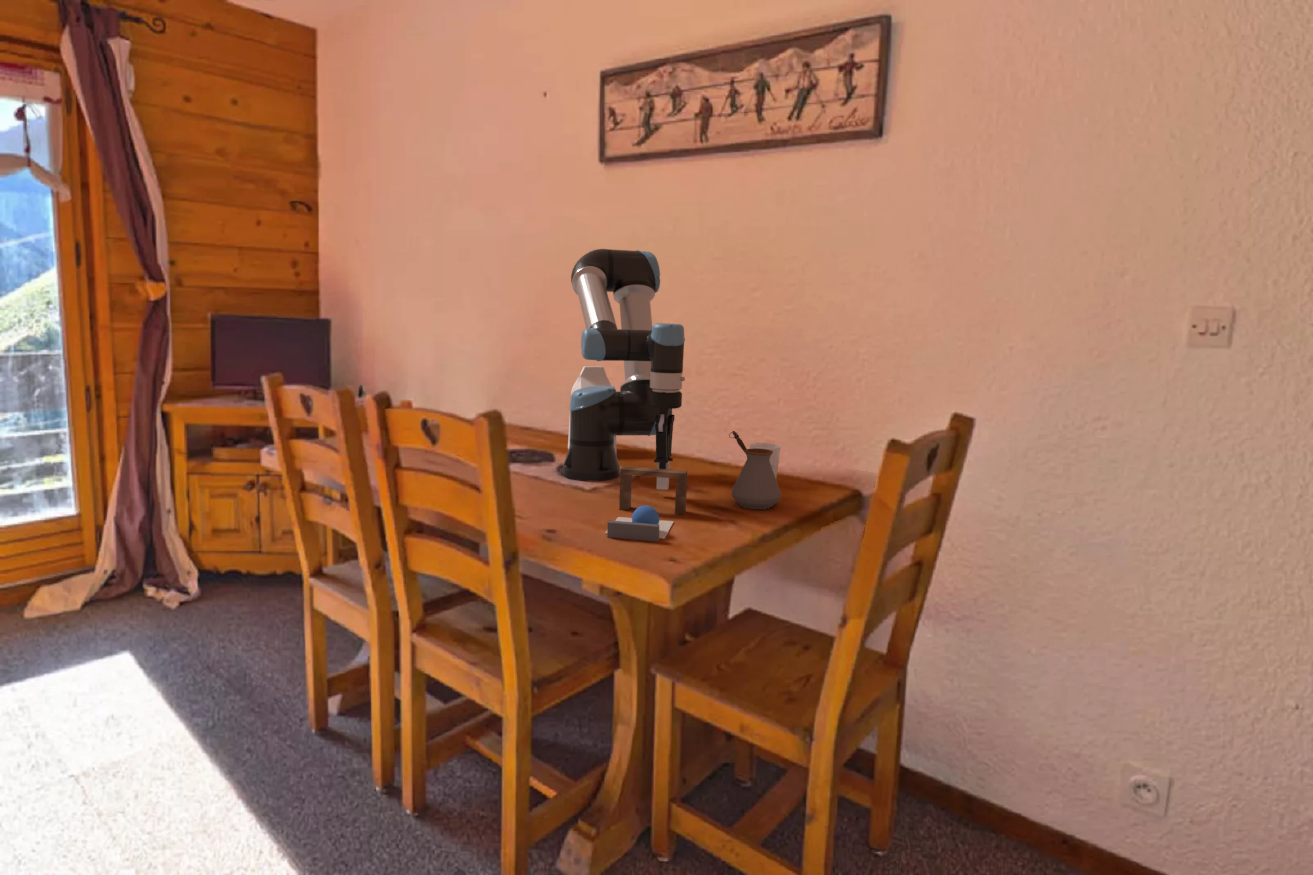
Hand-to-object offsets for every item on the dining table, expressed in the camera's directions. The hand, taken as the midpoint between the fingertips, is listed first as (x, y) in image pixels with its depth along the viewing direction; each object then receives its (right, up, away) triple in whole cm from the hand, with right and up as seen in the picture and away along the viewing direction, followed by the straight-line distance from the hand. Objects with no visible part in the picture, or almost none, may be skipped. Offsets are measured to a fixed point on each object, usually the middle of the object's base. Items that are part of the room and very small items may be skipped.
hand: (662, 488), depth 183 cm
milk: (-21, +8, +52) cm, 57 cm away
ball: (-4, -4, -29) cm, 30 cm away
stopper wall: (-6, -7, -33) cm, 34 cm away
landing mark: (-5, -6, -26) cm, 27 cm away
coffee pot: (+20, -3, 0) cm, 20 cm away
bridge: (-2, -4, -12) cm, 13 cm away
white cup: (+26, 0, +18) cm, 32 cm away
